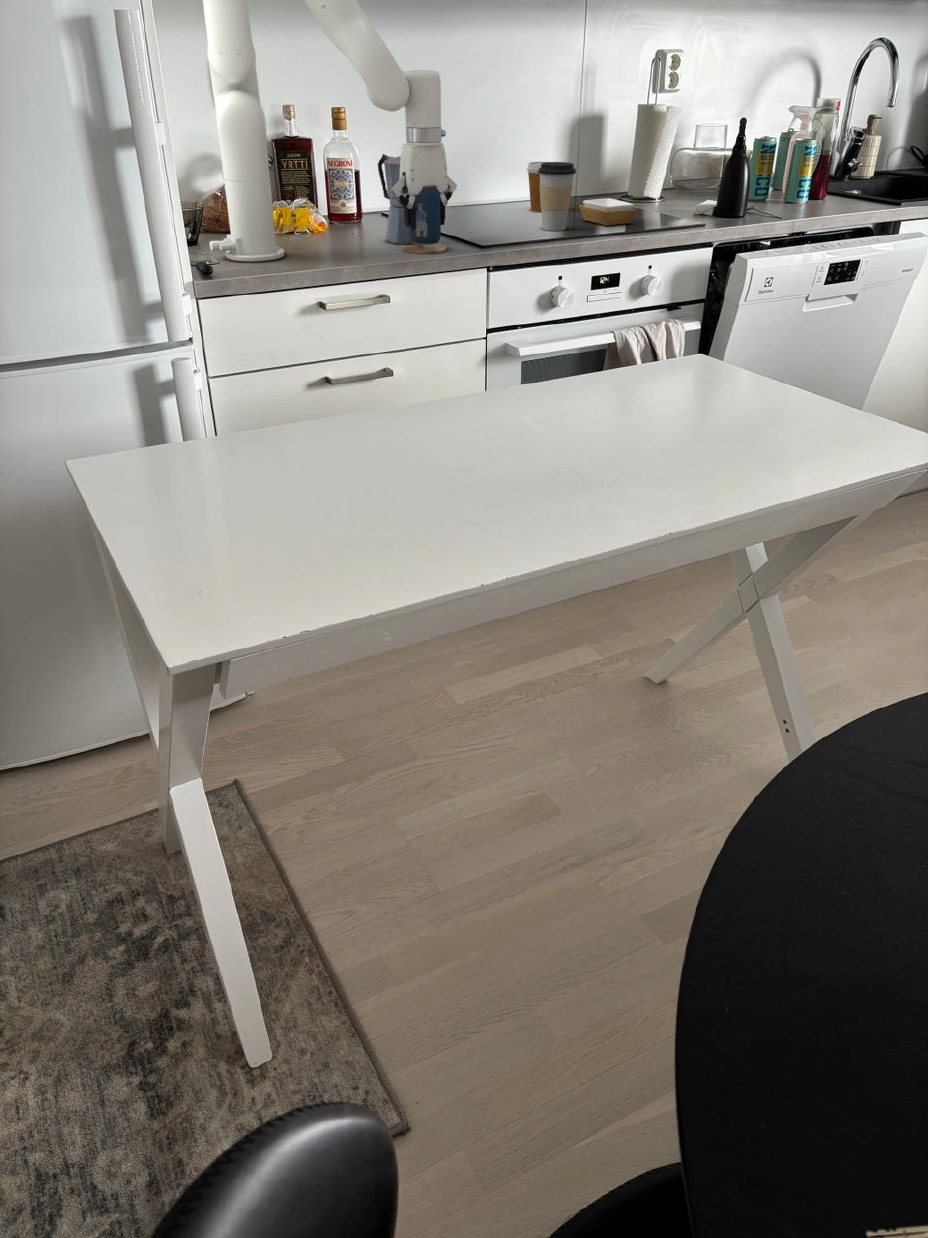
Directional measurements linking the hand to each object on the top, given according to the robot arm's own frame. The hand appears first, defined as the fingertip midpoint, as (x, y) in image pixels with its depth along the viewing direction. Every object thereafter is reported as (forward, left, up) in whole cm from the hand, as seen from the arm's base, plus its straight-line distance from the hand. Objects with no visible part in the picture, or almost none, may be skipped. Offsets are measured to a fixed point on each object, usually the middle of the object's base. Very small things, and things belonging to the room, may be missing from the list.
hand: (425, 224), depth 208 cm
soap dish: (+60, +8, -5) cm, 61 cm away
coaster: (0, 0, -5) cm, 5 cm away
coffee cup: (+42, +7, -5) cm, 43 cm away
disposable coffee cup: (+58, +34, -5) cm, 68 cm away
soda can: (0, 0, -4) cm, 4 cm away
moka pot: (+1, +12, -6) cm, 14 cm away
